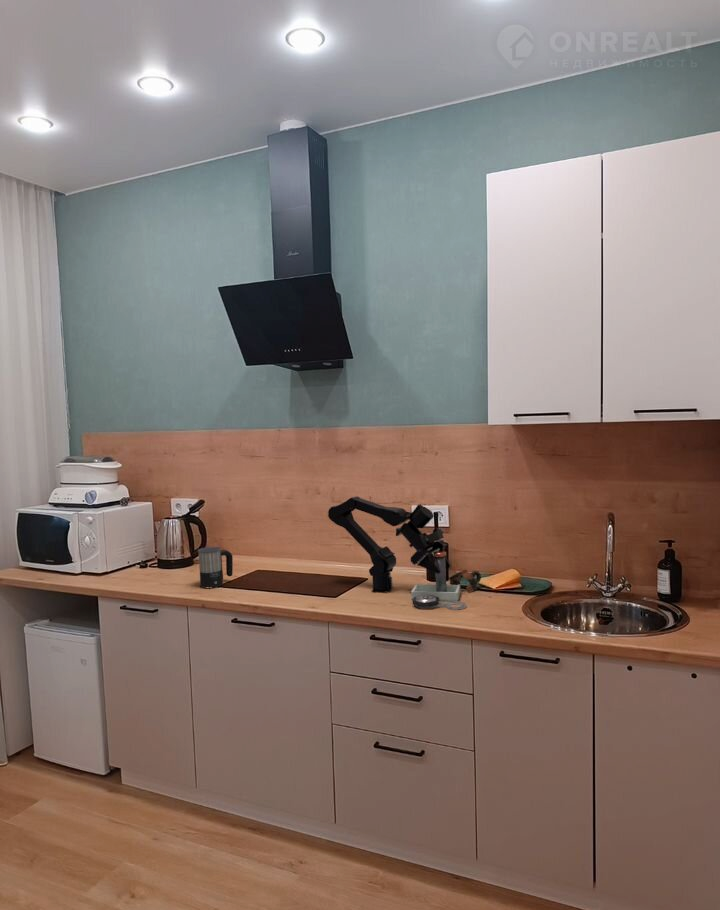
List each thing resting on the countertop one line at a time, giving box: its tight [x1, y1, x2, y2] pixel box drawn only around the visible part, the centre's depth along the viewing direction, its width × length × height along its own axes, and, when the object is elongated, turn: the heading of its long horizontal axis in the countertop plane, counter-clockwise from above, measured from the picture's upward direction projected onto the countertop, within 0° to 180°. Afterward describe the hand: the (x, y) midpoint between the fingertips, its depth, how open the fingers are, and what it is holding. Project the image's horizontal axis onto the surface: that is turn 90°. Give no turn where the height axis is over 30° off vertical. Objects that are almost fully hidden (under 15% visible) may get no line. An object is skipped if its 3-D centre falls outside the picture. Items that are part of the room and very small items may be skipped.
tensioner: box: [411, 595, 467, 611], centre depth 223 cm, size 18×9×3 cm, turn 76°
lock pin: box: [433, 550, 447, 592], centre depth 234 cm, size 4×4×15 cm
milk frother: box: [197, 546, 234, 588], centre depth 268 cm, size 14×16×15 cm
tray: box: [410, 583, 461, 602], centre depth 235 cm, size 16×10×3 cm, turn 76°
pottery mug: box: [448, 569, 482, 594], centre depth 244 cm, size 12×10×8 cm
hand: (444, 570), depth 233 cm, fingers open, 8 cm apart
